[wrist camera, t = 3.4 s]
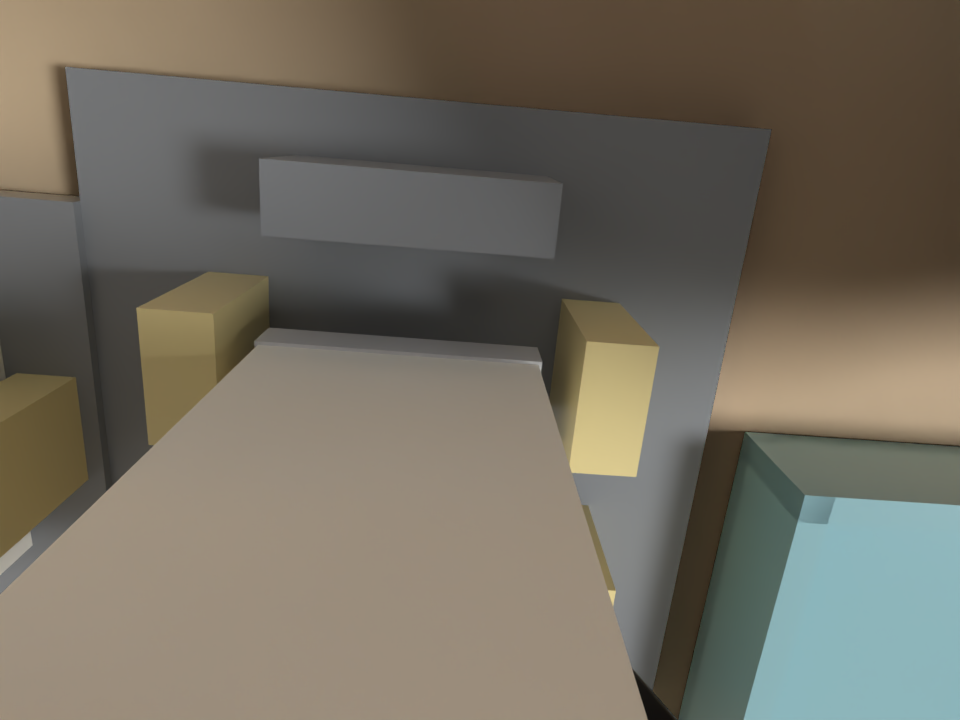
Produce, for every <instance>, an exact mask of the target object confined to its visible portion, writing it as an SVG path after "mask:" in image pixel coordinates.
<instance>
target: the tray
mask: <svg viewBox="0 0 960 720" xmlns="http://www.w3.org/2000/svg"><path fill="white" fill-rule="evenodd" d="M678 720H960V447H958V446H944V445H929V444H915V443H900V442H886V441H871V440H857V439H842V438H828V437H813V436H799V435H784V434H770V433H755V432H745V434H744V438H743V443H742V447H741V451H740V456H739V460H738V464H737V469H736V473H735V477H734V481H733V486H732V490H731V494H730V499H729V503H728V507H727V512H726V516H725V520H724V524H723V529H722V533H721V537H720V542H719V546H718V550H717V555H716V559H715V563H714V568H713V572H712V576H711V580H710V585H709V589H708V593H707V598H706V602H705V606H704V611H703V615H702V619H701V623H700V628H699V632H698V636H697V641H696V645H695V649H694V654H693V658H692V662H691V666H690V671H689V675H688V679H687V684H686V688H685V692H684V697H683V701H682V705H681V710H680V714H679V718H678Z"/></svg>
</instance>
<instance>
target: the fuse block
mask: <svg viewBox="0 0 960 720" xmlns="http://www.w3.org/2000/svg"><path fill="white" fill-rule="evenodd" d="M65 70H66V79H67V88H68V97H69V106H70V115H71V124H72V133H73V142H74V150H75V159H76V168H77V177H78V186H79V195H80V196H69V195H57V194H45V193H32V192H20V191H8V190H0V594H1V593H2V592H3V591H4V590H5V589H6V588H7V587H8V586H9V585H10V584H11V583H13V582H14V581H15V580H16V579H17V578H18V577H19V576H20V575H21V574H22V573H23V572H24V571H25V570H26V569H27V568H28V567H29V566H30V565H31V564H32V563H33V562H34V561H35V560H36V559H37V558H38V557H39V556H40V555H41V554H42V553H43V552H45V551H46V550H47V549H48V548H49V547H50V546H51V545H52V544H53V543H54V542H55V541H56V540H57V539H58V538H59V537H60V536H61V535H62V534H63V533H64V532H65V531H66V530H67V529H68V528H69V527H70V526H71V525H72V524H73V523H74V522H75V521H77V520H78V519H79V518H80V517H81V516H82V515H83V514H84V513H85V512H86V511H87V510H88V509H89V508H90V507H91V506H92V505H93V504H94V503H95V502H96V501H97V500H98V499H99V498H100V497H101V496H102V495H103V494H104V493H105V492H106V491H107V490H108V489H110V488H111V487H112V486H113V485H114V484H115V483H116V482H117V481H118V480H119V479H120V478H121V477H122V476H123V475H124V474H125V473H126V472H127V471H128V470H129V469H130V468H131V467H132V466H133V465H134V464H135V463H136V462H137V461H138V460H139V459H140V458H142V457H143V456H144V455H145V454H146V453H147V452H148V451H149V450H150V449H151V448H152V447H153V446H154V445H155V444H156V443H157V442H158V441H159V440H160V439H161V438H162V437H163V436H164V435H165V434H166V433H167V432H168V431H169V430H170V429H171V428H172V427H174V426H175V425H176V424H177V423H178V422H179V421H180V420H181V419H182V418H183V417H184V416H185V415H186V414H187V413H188V412H189V411H190V410H191V409H192V408H193V407H194V406H195V405H196V404H197V403H198V402H199V401H200V400H201V399H202V398H203V397H204V396H205V395H207V394H208V393H209V392H210V391H211V390H212V389H213V388H214V387H215V386H216V385H217V384H218V383H219V382H220V381H221V380H222V379H223V378H224V377H225V376H226V375H227V374H228V373H229V372H230V371H231V370H232V369H233V368H234V367H235V366H236V365H237V364H239V363H240V362H241V361H242V360H243V359H244V358H245V357H246V356H247V355H248V354H249V353H250V352H251V351H252V350H253V349H254V341H255V340H256V339H257V338H258V337H259V336H260V335H261V334H262V333H263V332H264V331H266V330H267V329H268V328H281V329H295V330H308V331H322V332H335V333H349V334H363V335H376V336H390V337H404V338H417V339H431V340H445V341H458V342H472V343H486V344H499V345H513V346H526V347H538V350H539V353H540V356H541V359H542V369H541V375H542V378H543V381H544V385H545V388H546V391H547V394H548V397H549V401H550V404H551V407H552V410H553V414H554V417H555V420H556V423H557V427H558V430H559V433H560V436H561V440H562V443H563V446H564V449H565V453H566V456H567V459H568V462H569V466H570V469H571V472H572V475H573V479H574V482H575V485H576V488H577V492H578V495H579V498H580V501H581V505H582V508H583V511H584V514H585V518H586V521H587V524H588V527H589V531H590V534H591V537H592V540H593V544H594V547H595V550H596V553H597V557H598V560H599V563H600V566H601V570H602V573H603V576H604V579H605V583H606V586H607V589H608V592H609V596H610V599H611V602H612V605H613V608H614V612H615V615H616V618H617V621H618V625H619V628H620V631H621V634H622V638H623V641H624V644H625V647H626V651H627V654H628V657H629V660H630V664H631V667H632V668H633V670H634V671H635V672H636V673H637V674H638V675H639V676H640V678H641V679H642V680H643V681H644V682H645V683H646V684H647V686H648V687H649V688H650V689H651V690H652V691H653V686H654V682H655V677H656V672H657V667H658V663H659V658H660V653H661V649H662V644H663V639H664V634H665V630H666V625H667V620H668V616H669V611H670V606H671V601H672V597H673V592H674V587H675V583H676V578H677V573H678V568H679V564H680V559H681V554H682V550H683V545H684V540H685V535H686V531H687V526H688V521H689V517H690V512H691V507H692V502H693V498H694V493H695V488H696V484H697V479H698V474H699V469H700V465H701V460H702V455H703V451H704V446H705V441H706V436H707V432H708V427H709V422H710V418H711V413H712V408H713V403H714V399H715V394H716V389H717V385H718V380H719V375H720V370H721V366H722V361H723V356H724V352H725V347H726V342H727V338H728V333H729V328H730V323H731V319H732V314H733V309H734V305H735V300H736V295H737V290H738V286H739V281H740V276H741V272H742V267H743V262H744V257H745V253H746V248H747V243H748V239H749V234H750V229H751V224H752V220H753V215H754V210H755V206H756V201H757V196H758V191H759V187H760V182H761V177H762V173H763V168H764V163H765V158H766V154H767V149H768V144H769V140H770V135H771V130H772V129H761V128H749V127H738V126H727V125H716V124H704V123H693V122H682V121H670V120H659V119H648V118H637V117H625V116H614V115H603V114H591V113H580V112H569V111H558V110H546V109H535V108H524V107H512V106H501V105H490V104H479V103H467V102H456V101H445V100H433V99H422V98H411V97H400V96H388V95H377V94H366V93H354V92H343V91H332V90H321V89H309V88H298V87H287V86H275V85H264V84H253V83H242V82H230V81H219V80H208V79H196V78H185V77H174V76H163V75H151V74H140V73H129V72H117V71H106V70H95V69H84V68H72V67H65Z"/></svg>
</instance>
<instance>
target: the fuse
mask: <svg viewBox="0 0 960 720" xmlns="http://www.w3.org/2000/svg"><path fill="white" fill-rule="evenodd" d="M541 369H542V359H541V356H540V353H539V350H538V347H526V346H513V345H499V344H486V343H472V342H458V341H445V340H431V339H417V338H404V337H390V336H376V335H363V334H349V333H335V332H322V331H308V330H295V329H281V328H268V329H267V330H266V331H264V332H263V333H262V334H261V335H260V336H259V337H258V338H257V339H256V340H255V341H254V349H253V350H252V351H251V352H250V353H249V354H248V355H247V356H246V357H245V358H244V359H243V360H242V361H241V362H240V363H239V364H237V365H236V366H235V367H234V368H233V369H232V370H231V371H230V372H229V373H228V374H227V375H226V376H225V377H224V378H223V379H222V380H221V381H220V382H219V383H218V384H217V385H216V386H215V387H214V388H213V389H212V390H211V391H210V392H209V393H208V394H207V395H205V396H204V397H203V398H202V399H201V400H200V401H199V402H198V403H197V404H196V405H195V406H194V407H193V408H192V409H191V410H190V411H189V412H188V413H187V414H186V415H185V416H184V417H183V418H182V419H181V420H180V421H179V422H178V423H177V424H176V425H175V426H174V427H172V428H171V429H170V430H169V431H168V432H167V433H166V434H165V435H164V436H163V437H162V438H161V439H160V440H159V441H158V442H157V443H156V444H155V445H154V446H153V447H152V448H151V449H150V450H149V451H148V452H147V453H146V454H145V455H144V456H143V457H142V458H140V459H139V460H138V461H137V462H136V463H135V464H134V465H133V466H132V467H131V468H130V469H129V470H128V471H127V472H126V473H125V474H124V475H123V476H122V477H121V478H120V479H119V480H118V481H117V482H116V483H115V484H114V485H113V486H112V487H111V488H110V489H108V490H107V491H106V492H105V493H104V494H103V495H102V496H101V497H100V498H99V499H98V500H97V501H96V502H95V503H94V504H93V505H92V506H91V507H90V508H89V509H88V510H87V511H86V512H85V513H84V514H83V515H82V516H81V517H80V518H79V519H78V520H77V521H75V522H74V523H73V524H72V525H71V526H70V527H69V528H68V529H67V530H66V531H65V532H64V533H63V534H62V535H61V536H60V537H59V538H58V539H57V540H56V541H55V542H54V543H53V544H52V545H51V546H50V547H49V548H48V549H47V550H46V551H45V552H43V553H42V554H41V555H40V556H39V557H38V558H37V559H36V560H35V561H34V562H33V563H32V564H31V565H30V566H29V567H28V568H27V569H26V570H25V571H24V572H23V573H22V574H21V575H20V576H19V577H18V578H17V579H16V580H15V581H14V582H13V583H11V584H10V585H9V586H8V587H7V588H6V589H5V590H4V591H3V592H2V593H1V594H0V720H648V719H647V716H646V712H645V709H644V706H643V703H642V699H641V696H640V693H639V690H638V686H637V683H636V680H635V677H634V673H633V670H632V667H631V664H630V660H629V657H628V654H627V651H626V647H625V644H624V641H623V638H622V634H621V631H620V628H619V625H618V621H617V618H616V615H615V612H614V608H613V605H612V602H611V599H610V596H609V592H608V589H607V586H606V583H605V579H604V576H603V573H602V570H601V566H600V563H599V560H598V557H597V553H596V550H595V547H594V544H593V540H592V537H591V534H590V531H589V527H588V524H587V521H586V518H585V514H584V511H583V508H582V505H581V501H580V498H579V495H578V492H577V488H576V485H575V482H574V479H573V475H572V472H571V469H570V466H569V462H568V459H567V456H566V453H565V449H564V446H563V443H562V440H561V436H560V433H559V430H558V427H557V423H556V420H555V417H554V414H553V410H552V407H551V404H550V401H549V397H548V394H547V391H546V388H545V385H544V381H543V378H542V375H541Z"/></svg>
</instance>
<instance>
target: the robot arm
mask: <svg viewBox="0 0 960 720" xmlns="http://www.w3.org/2000/svg"><path fill="white" fill-rule="evenodd" d="M632 670H633V668H632ZM633 673H634V677H635V680H636V683H637V686H638V690H639V693H640V696H641V699H642V703H643V706H644V709H645V712H646V716H647V719H648V720H677V719H676V718H675V716H674V715H673V714H672V713H671V712H670V711H669V710H668V708H667V707H666V706H665V705H664V704H663V703H662V702H661V700H660V699H659V698H658V697H657V696H656V695H655V694H654V692H653V691H652V690H651V689H650V688H649V687H648V686H647V684H646V683H645V682H644V681H643V680H642V679H641V678H640V676H639V675H638V674H637V673H636V672H635V671H634V670H633Z"/></svg>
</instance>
